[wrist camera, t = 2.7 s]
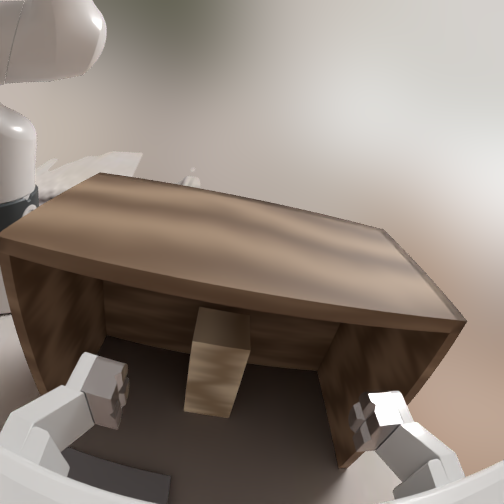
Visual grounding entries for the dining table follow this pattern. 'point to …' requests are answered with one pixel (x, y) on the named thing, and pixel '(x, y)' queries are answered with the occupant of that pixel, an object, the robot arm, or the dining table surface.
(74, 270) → the wooden bench shelf
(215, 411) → the block
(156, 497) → the mat
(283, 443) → the dining table surface
